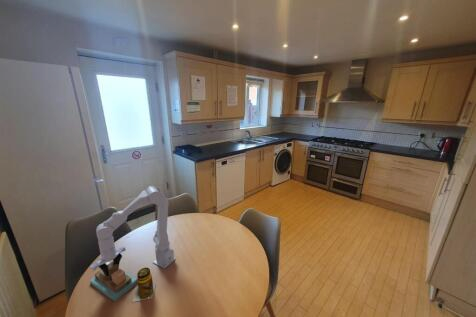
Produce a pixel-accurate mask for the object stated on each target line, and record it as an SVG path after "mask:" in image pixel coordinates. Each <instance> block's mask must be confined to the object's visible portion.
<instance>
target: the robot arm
mask: <svg viewBox="0 0 476 317" xmlns="http://www.w3.org/2000/svg"><path fill="white" fill-rule="evenodd" d="M150 203H151V204H153V205H157V216H156V218H157V221H156V230H155V233H154V236H153V242H154V243H155V246H154V252H155V259H154V260H153V261H152V263H153V264H154V265H157V266H159V267H160V268H163V269H166V268H167V267H169V266H170V265H171V264H172V263H173V262H174V261H175V260H176V257H175V254H174V253H175V252H174V249H172V248H171V247H170V246H171V245H170V241H169V235H168V232H167V231H168V219H169V218H168V217H169V200H168V199H167V197H166V196H165V195H164V193H163V192H162V191H161V190H160V188H158V187H156V186H154V185H151V186H147V187H146V188H145V189H144V190H142V191H141V192H140V193H139V194H138V196H137V197H135V199H133V200H132V201H131V203H129V204H128V205H127V206H125V207H124V208H123V209H122V210H117V211H116V212H113V213H112V214H111V216H110V217H109V218H108V219H107V220H104V221H103V222H102V223H100V224H98V226H96V229H95V231H96V232H95V233H96V238H97V241H98V242H97V244H98V247H99V254H100V257H99V259H97V260H96V261H95V262H93V263H92V264H91V265H90V270H91V271H92V272H95V271H96V270H97V269H99V268H100V269H101V270H102V271H103V272H104V274H105V276H107V277H108V276H109V272H108V265H106V263H107V262H112V261H113V262H115V263H116V264H117V265H118V269H119V268H120V262H121V260H122V258H123V255H122V252H125V251H126V246H124V245H122V246H120V247H118V248H116V247H115V240H114V236H113V234H114V231H116V229H118V228H119V227H120V226H121V225H122V224H124V223H125V222H126V221H127V219H128V216H129V215H130V214H132V213H133V212H134V211H136V210H137V209H138V208H140V207H141V206H142V205H150Z"/></svg>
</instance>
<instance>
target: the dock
mask: <svg viewBox="0 0 476 317" xmlns="http://www.w3.org/2000/svg"><path fill="white" fill-rule="evenodd" d="M119 269H121V268H120V267H119ZM125 274H126V275H128V276H129V277H131V280H132V282H130V283H127V284H126V286H125V287H124V288H121V289H119V290H120V291H119V292H118V293H116V292H114V291H113V290H112V289H110V288H109V287H107V286H106V285H105V284H103V283H102V282H101V281H99V280H98V279H96V278H95V276H94V277H92V278H91V279H90V280H89V284H90V285H92V286H93V287H95V289H97V290H99V291H100V292H101V293H103V295H105V296H106V297H108V298H109V299H110V300H112V301H113V302H115V303H116V302H117V301H118V300H119V299H120V298H121V297H122V296H123V295H125V294H126V293H127V292H129V290H130V289H132V288H133V287H134V286H135V285H136V284H138V283H137V277H134V276H133V275H131V274H129V273H128V272H126V271H125Z"/></svg>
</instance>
